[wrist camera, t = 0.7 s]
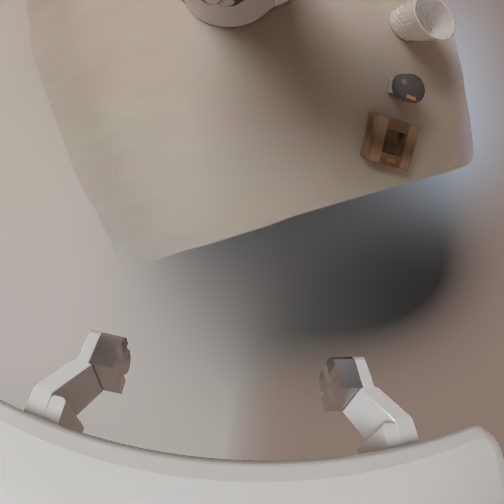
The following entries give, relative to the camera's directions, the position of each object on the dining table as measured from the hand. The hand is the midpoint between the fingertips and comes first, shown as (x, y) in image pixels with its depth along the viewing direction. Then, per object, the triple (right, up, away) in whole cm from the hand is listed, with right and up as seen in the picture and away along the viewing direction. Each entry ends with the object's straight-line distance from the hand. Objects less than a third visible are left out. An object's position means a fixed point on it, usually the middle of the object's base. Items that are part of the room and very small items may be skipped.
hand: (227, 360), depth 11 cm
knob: (+26, +33, +30) cm, 51 cm away
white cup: (+28, +44, +24) cm, 57 cm away
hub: (+24, +24, +35) cm, 49 cm away
